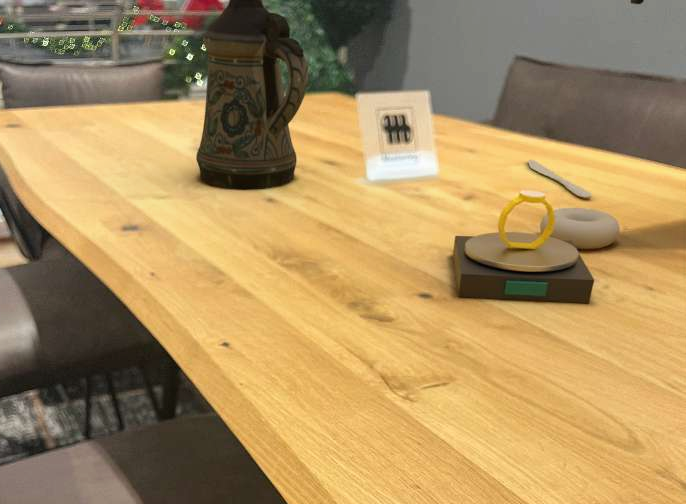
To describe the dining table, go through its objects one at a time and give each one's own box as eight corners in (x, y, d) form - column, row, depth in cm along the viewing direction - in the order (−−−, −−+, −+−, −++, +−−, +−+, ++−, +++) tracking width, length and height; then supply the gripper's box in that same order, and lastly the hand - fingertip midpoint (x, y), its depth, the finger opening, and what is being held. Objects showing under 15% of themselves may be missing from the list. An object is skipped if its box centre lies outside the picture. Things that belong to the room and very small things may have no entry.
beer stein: (215, 164, 135) (205, -4, 121) (322, 170, 132) (325, -2, 118) (183, 186, 122) (168, 0, 108) (302, 194, 119) (302, 3, 105)
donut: (533, 248, 98) (615, 256, 95) (537, 221, 96) (621, 228, 93) (542, 227, 106) (618, 234, 103) (546, 202, 104) (623, 207, 101)
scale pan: (567, 239, 91) (568, 234, 91) (587, 274, 81) (588, 269, 81) (461, 234, 92) (462, 229, 92) (467, 269, 82) (468, 263, 82)
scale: (567, 261, 94) (572, 237, 92) (589, 304, 82) (595, 278, 80) (452, 256, 95) (455, 232, 93) (458, 298, 83) (461, 272, 81)
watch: (499, 252, 85) (507, 196, 82) (492, 244, 87) (500, 190, 84) (551, 251, 86) (562, 196, 82) (543, 244, 88) (553, 189, 84)
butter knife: (576, 195, 117) (595, 194, 118) (521, 160, 139) (537, 159, 140) (575, 199, 118) (594, 198, 118) (520, 163, 140) (536, 162, 140)
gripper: (650, -205, 74) (608, 4, 84) (836, -206, 73) (771, 7, 83) (632, -192, 80) (595, 1, 90) (803, -193, 79) (747, 4, 89)
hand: (679, 4), depth 87 cm, fingers open, 9 cm apart
